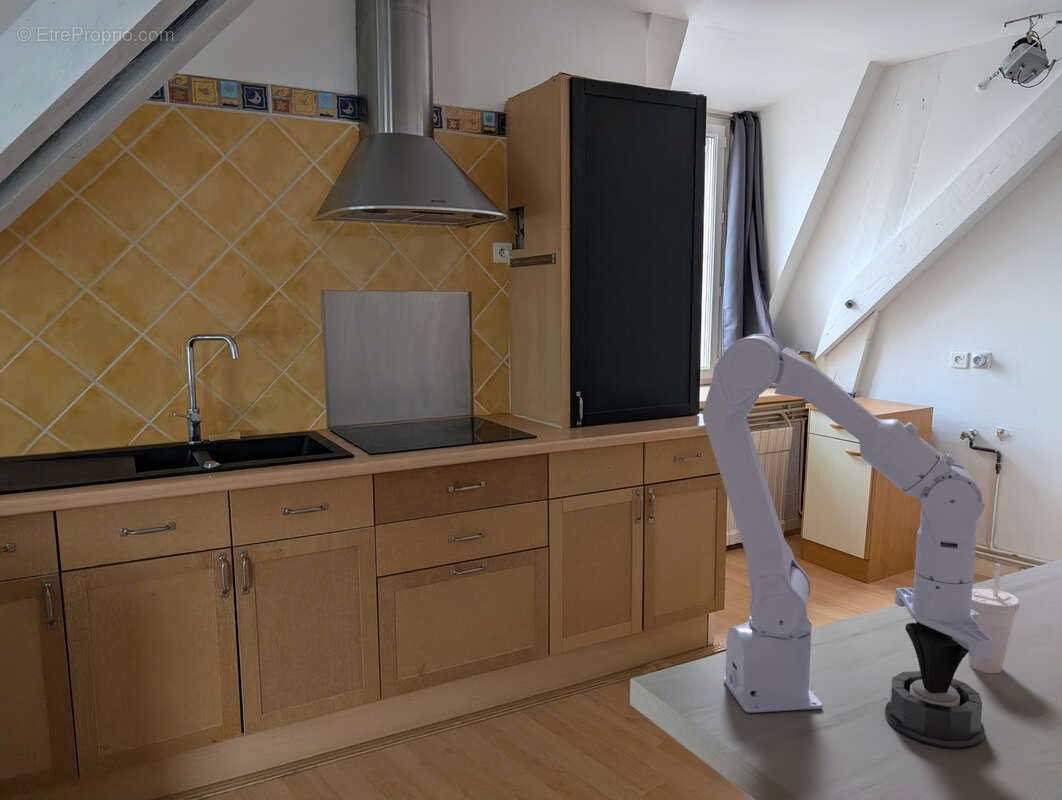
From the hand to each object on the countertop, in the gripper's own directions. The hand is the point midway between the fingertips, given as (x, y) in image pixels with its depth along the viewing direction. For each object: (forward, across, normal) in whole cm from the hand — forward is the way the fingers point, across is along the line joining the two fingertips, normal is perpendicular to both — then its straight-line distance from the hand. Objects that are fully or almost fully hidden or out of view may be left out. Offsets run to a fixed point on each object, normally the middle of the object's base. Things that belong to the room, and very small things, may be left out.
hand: (935, 689), depth 86 cm
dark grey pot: (+4, 0, 0) cm, 4 cm away
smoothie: (+4, +12, -15) cm, 20 cm away
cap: (+3, 0, 0) cm, 4 cm away
